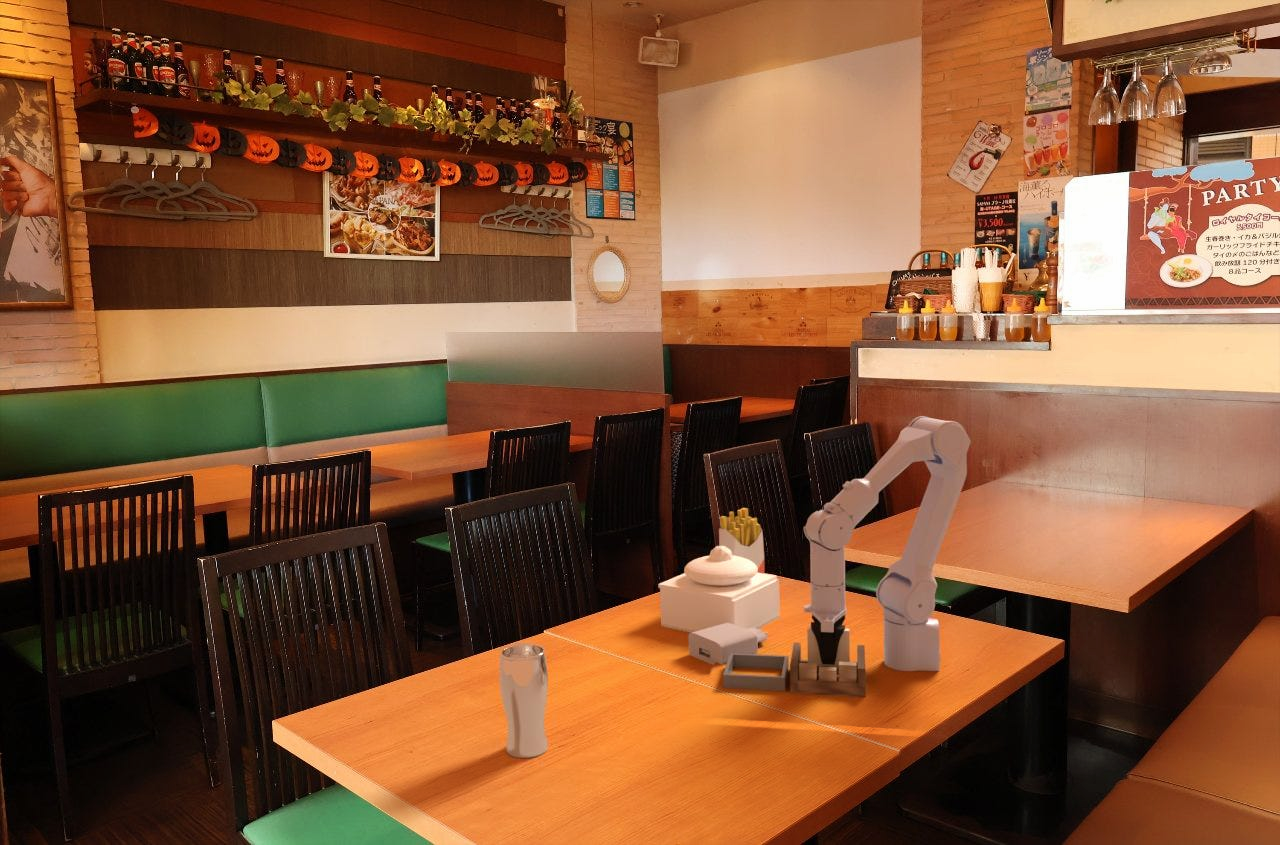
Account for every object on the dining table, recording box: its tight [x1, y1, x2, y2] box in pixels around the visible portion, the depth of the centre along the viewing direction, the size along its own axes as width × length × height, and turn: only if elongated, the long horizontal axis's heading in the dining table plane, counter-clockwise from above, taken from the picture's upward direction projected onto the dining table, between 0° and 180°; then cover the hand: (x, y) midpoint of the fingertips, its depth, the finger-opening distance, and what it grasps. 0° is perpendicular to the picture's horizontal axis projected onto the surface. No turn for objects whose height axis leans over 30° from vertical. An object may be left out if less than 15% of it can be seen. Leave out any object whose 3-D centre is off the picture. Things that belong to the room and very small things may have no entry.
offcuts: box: [799, 661, 857, 682], centre depth 159 cm, size 9×2×4 cm, turn 78°
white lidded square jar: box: [657, 545, 780, 633], centre depth 197 cm, size 18×18×16 cm
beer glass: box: [499, 642, 549, 759], centre depth 142 cm, size 7×7×15 cm
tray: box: [722, 653, 790, 692], centre depth 165 cm, size 10×10×3 cm
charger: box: [688, 623, 770, 666], centre depth 180 cm, size 5×9×15 cm
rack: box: [789, 642, 867, 698], centre depth 163 cm, size 12×12×5 cm
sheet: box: [806, 626, 851, 667], centre depth 165 cm, size 7×1×8 cm, turn 78°
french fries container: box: [718, 507, 766, 574], centre depth 219 cm, size 5×11×18 cm, turn 135°
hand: (828, 659), depth 166 cm, fingers open, 3 cm apart
